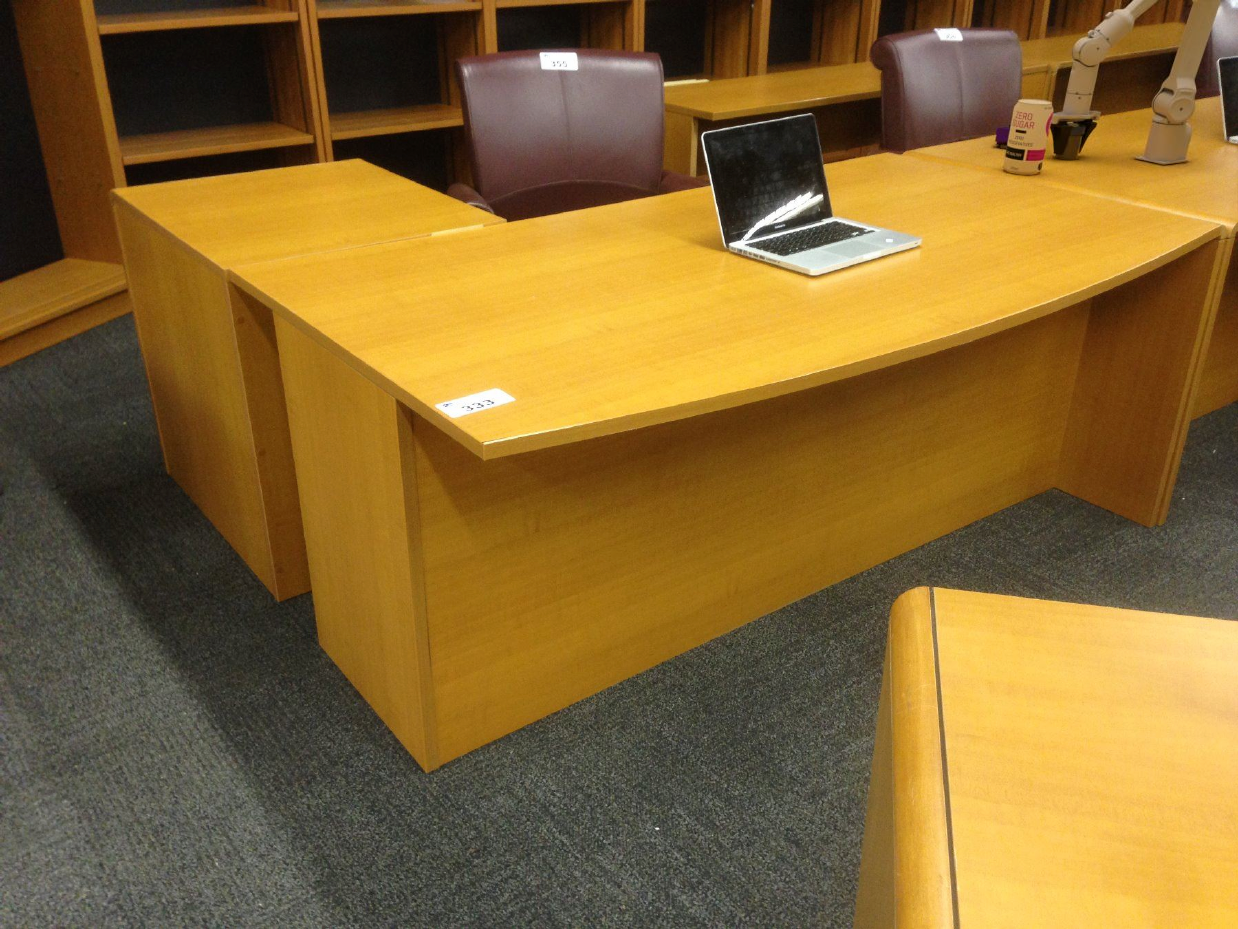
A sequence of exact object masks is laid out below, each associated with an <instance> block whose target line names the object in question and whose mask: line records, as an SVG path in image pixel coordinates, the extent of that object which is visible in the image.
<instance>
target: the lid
mask: <svg viewBox="0 0 1238 929" xmlns="http://www.w3.org/2000/svg"><path fill="white" fill-rule="evenodd" d="M1067 124H1068V125H1070V126H1073V129H1072V130H1071V132H1070V134H1074V135H1080V134H1084V133H1085V128H1086V125H1083V124H1078V123H1073V122H1067Z"/></svg>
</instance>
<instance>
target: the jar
mask: <svg viewBox="0 0 1238 929" xmlns="http://www.w3.org/2000/svg"><path fill="white" fill-rule="evenodd" d="M1081 140H1082V134H1080V135H1074V134H1069V136H1068V138H1067V141H1066V145H1065V148H1064V152H1063V154H1062V155H1058V154H1055V155H1054V157H1055V159H1058V160H1063V161H1077V160H1078V158H1079V154H1080V153H1079V149H1080V145H1081Z"/></svg>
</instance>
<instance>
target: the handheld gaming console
mask: <svg viewBox="0 0 1238 929" xmlns="http://www.w3.org/2000/svg"><path fill="white" fill-rule="evenodd" d="M1010 127H1011V124H1008V125H1005V126H999V127H997V128H996V132H995V140H994V142H995V145H997V146H999V145H1000V146H999V147H1000V149H1003V150H1006V148H1007V143H1008V138H1009V132H1010Z"/></svg>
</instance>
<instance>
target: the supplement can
mask: <svg viewBox="0 0 1238 929" xmlns="http://www.w3.org/2000/svg"><path fill="white" fill-rule="evenodd" d="M1053 114H1054V107H1053V102H1052V101H1050V100H1045V99H1038V98H1021V99H1018V101H1017V102H1016V104H1015V105H1014V107H1013V112H1012V117H1011V121H1010V125H1011V127H1010V132H1009V138H1008V143H1007V148H1006V149H1005V154H1004V159H1003V167H1002V168H1003V169H1004V171H1005V172H1007V173H1010V174H1014V175H1022V176H1033V175H1037V174H1039V173H1040V172H1041V171H1042V170H1043V165H1044V159H1045V154H1046V150H1047V144H1048V140H1049V135H1050V131H1051V129H1050V126H1051V121H1052V116H1053Z"/></svg>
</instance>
